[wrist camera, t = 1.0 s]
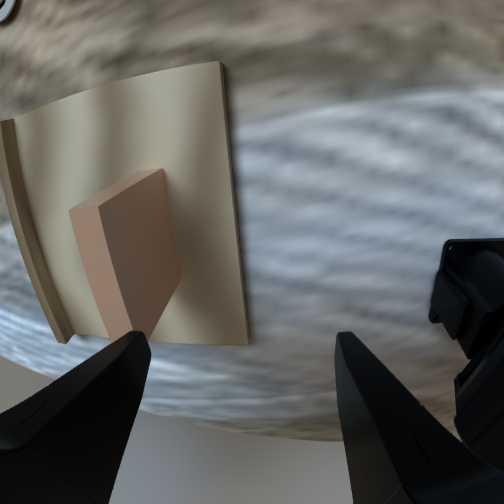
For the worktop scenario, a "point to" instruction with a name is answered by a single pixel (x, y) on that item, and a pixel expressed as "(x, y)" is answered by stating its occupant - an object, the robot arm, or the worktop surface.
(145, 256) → the tile
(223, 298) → the board
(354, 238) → the worktop surface
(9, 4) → the kitchen cleaver
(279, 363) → the worktop surface
